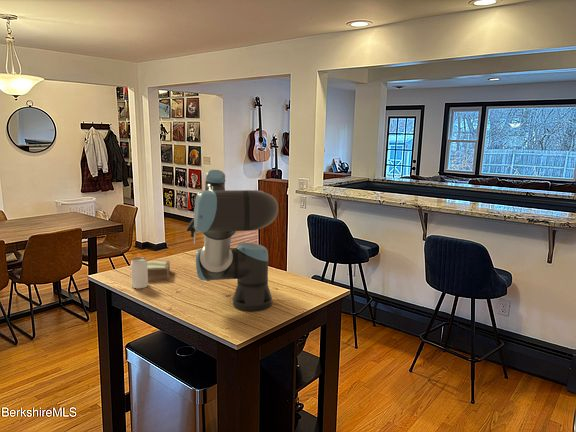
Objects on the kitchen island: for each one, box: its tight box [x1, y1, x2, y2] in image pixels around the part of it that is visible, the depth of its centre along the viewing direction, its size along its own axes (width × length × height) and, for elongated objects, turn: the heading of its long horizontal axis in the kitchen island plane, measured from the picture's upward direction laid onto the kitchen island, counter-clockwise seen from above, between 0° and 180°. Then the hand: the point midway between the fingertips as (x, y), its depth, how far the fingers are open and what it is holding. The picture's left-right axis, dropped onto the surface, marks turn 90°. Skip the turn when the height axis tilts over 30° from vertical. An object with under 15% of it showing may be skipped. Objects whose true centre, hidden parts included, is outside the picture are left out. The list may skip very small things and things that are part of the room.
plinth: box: [146, 260, 171, 282], centre depth 189 cm, size 13×11×5 cm
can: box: [130, 257, 149, 290], centre depth 175 cm, size 6×6×12 cm
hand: (210, 243), depth 182 cm, fingers open, 13 cm apart
